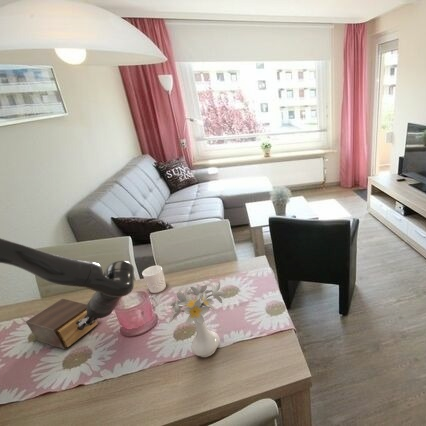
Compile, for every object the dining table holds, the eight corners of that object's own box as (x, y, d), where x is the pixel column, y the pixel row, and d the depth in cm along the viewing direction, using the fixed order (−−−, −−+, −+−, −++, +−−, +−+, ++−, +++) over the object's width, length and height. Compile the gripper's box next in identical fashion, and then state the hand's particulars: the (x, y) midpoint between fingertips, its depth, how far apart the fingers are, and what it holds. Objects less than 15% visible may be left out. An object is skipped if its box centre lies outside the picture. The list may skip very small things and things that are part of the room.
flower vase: (239, 334, 108) (228, 280, 98) (202, 377, 93) (184, 318, 83) (212, 324, 113) (199, 271, 103) (173, 363, 98) (152, 305, 88)
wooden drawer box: (98, 323, 116) (89, 305, 112) (64, 349, 105) (53, 330, 101) (71, 316, 120) (62, 298, 116) (37, 340, 109) (25, 321, 105)
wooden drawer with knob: (100, 324, 114) (93, 309, 111) (70, 348, 104) (61, 332, 101) (73, 317, 118) (65, 302, 115) (42, 339, 108) (32, 323, 105)
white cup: (164, 280, 139) (159, 263, 135) (169, 288, 134) (163, 270, 130) (146, 288, 135) (140, 270, 131) (150, 296, 129) (144, 278, 125)
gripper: (113, 281, 100) (99, 302, 109) (74, 308, 89) (62, 329, 97) (130, 296, 101) (115, 316, 110) (93, 324, 90) (79, 344, 98)
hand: (90, 322), depth 104 cm, fingers closed
